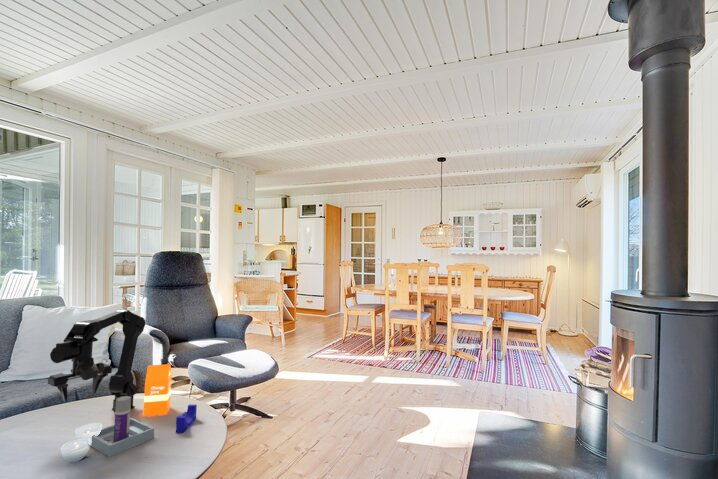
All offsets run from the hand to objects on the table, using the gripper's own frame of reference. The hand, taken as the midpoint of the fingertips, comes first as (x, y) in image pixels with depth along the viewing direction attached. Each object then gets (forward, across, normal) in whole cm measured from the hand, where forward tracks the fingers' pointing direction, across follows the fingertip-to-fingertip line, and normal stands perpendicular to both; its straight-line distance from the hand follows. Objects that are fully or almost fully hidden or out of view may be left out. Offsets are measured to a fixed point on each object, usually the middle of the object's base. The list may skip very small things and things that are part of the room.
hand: (80, 397), depth 136 cm
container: (+13, +6, -19) cm, 24 cm away
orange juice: (+13, +26, -7) cm, 30 cm away
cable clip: (+13, +25, -28) cm, 39 cm away
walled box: (+13, +6, -19) cm, 24 cm away
